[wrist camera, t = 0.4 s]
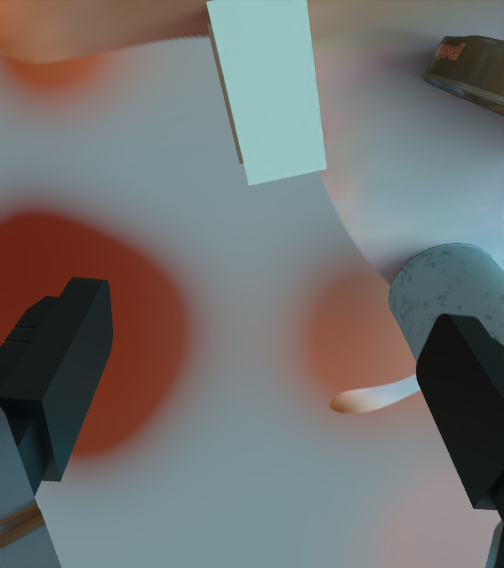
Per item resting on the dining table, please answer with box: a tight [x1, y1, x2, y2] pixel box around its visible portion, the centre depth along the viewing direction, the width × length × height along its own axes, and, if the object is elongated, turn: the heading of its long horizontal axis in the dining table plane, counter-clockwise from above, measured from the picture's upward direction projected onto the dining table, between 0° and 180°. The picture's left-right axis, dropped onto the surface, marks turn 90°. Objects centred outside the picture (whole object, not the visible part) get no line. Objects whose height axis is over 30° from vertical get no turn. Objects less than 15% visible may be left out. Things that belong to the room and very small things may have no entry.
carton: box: [206, 0, 327, 186], centre depth 23 cm, size 4×8×10 cm, turn 12°
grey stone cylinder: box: [389, 243, 504, 362], centre depth 33 cm, size 10×10×12 cm
